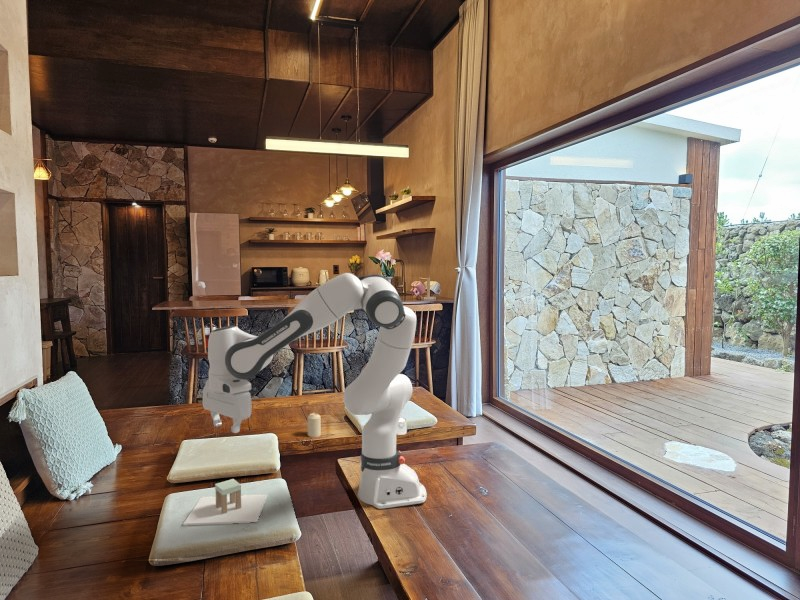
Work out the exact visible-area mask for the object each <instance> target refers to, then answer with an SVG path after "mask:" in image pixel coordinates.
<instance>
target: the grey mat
mask: <svg viewBox="0 0 800 600" xmlns="http://www.w3.org/2000/svg"><path fill="white" fill-rule="evenodd" d="M268 495H269V494H268V493H267V494H265V493H264V494H263V493H262V494H243V495H242V494H241V508H240V509H236V503H233V504H231V503H230V495H227V513H225V514H223V513H222V512H221V508H218V509H217V508H216V495H214V496H211V495H210V496H201V497H200V498H199V500H198V501H197V503H196V504H195V505H194V506H193V509H192V510H191V511H190V513H189V515H188V516H187V518H186V519H185V520H184V522H182V523H183V524H182V525H183V527H186V526H187V527H190V526H212V525H213V526H215V525H233V523H239V524H251V523H250V522H257V521H258V522H259V520H258V519H260V517H259V516H261V515H262V511H263V509H264V506H265V503H266V501H267V498H268ZM258 522H257V523H258Z"/></svg>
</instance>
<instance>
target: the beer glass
mask: <svg viewBox="0 0 800 600" xmlns="http://www.w3.org/2000/svg"><path fill="white" fill-rule="evenodd" d="M407 425H408V424H407V418H403V417H400V419H399V422H398V426H397V435H398V436H404V435H406V434H407V431H408V428H407Z"/></svg>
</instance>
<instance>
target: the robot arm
mask: <svg viewBox="0 0 800 600" xmlns="http://www.w3.org/2000/svg"><path fill="white" fill-rule="evenodd" d="M356 310H363V311H364V312H365V313H366V315H367V318H368V320H370V321H371V322H372V323H373V324H375V325H376V326H378V327H379V330H378V333H377V336H376V340H375V343H374V347H373V350H372V354H371V356H370V358H369V360H368V362H367V363H366V365H365V366H364V368H363V369H362V371H361V372H360V373H359V375H358V376H357V378H355V379H354V380H353V381H352V382H351V383H350V384H348V385H347V386H346V387H345V389H344V392H343V403H344V406H345V408H346V410H347V411H348V412H349V413H350V414H351V415H354V416H368V415H370V417H369V418H368V420H367V422H366V423H365V424H364V425H363V427H362V431H361V452H360V457H359V458H360V461H359V462H360V463H359V464H360V465H359V466H360V471H361V474H360V481H359V486H358V491H357V498H358V499H359V500H360V501H362V502H363V503H365V504H367V505H371V506H373V507H374V508H376V509H379V510H380V509H381V510H382V509H388V508H396V507H405V506H410V505H417V504H423V503H424V502H425V501H427V497H428V496H427V495H428V493H427V489H426V487H425V486H424V485H423V483H421V482H420V480H419V476H418V474H417V472H416V471H415V470H414V469H413V468H412V467H410V466H408V465H407V464H405V462H406V459H405V457H404V456H403V454H402V452H401V451H400V450H397V426H398V422H399V419H400V418H401V415H402V412H403V410H404V409H405V406H406V405H407V403H408V401H409V400H410V399H411V397H412V395H413V391H414V390H413V388H414V387H413V385H412V381H411V380H410V378H409V377H408V376H407V375H405V374H403V373H402V372H403V370H405V368H406V366H407V363H408V360H409V357H410V353H411V350H412V346H413V344H414V339H415V335H416V331H417V330H416V329H417V320H418V319H417V314H416V313H415V312H414V311H413V310H412V309H411V308H409V307H408V306H405V305H404V303H403V300H402V298H401V297H400V295H399V293H398V290H397V289H396V288H395V286H394V285H392V284H391V282H390V281H389V280H388V278H386V277H385V276H384V275H381V274H377V273H376V274H369V275H365V276H360V277H357V276H356V275H355V274H353V273H351V272H344V273H341V274H339V275H337V276H334V277H333V278H331V279H329V280H327V281H325V282H324V283H322V284H320V285H319V286H318V287H316V288H315V289H314V290H312V291H311V292H310V293H308V294H307V295H306V296H305V297H304V298H302V300H301V301H299V303H298V304H297V305H296V306H295V307H294V308H293V309H292V310H291V311H290V312H289V313H288V314H287V315H286V316H285V317H284V318H283V319H282V320H281V321H279V322H278V323H277V324H274V326H272V327H270V328H269V329H268V330H266V331H265V332H263V333H261V334H260V335H258V336H257V335H253V334H250V333H248V332H246V331H243V330H242V329H240V328H239V327H238V326H236V325H227V326H226V325H225V326H222V327H218V328H215V329H213V330H212V331H211V332H210V333H209V336H208V343H207V345H208V346H207V360H208V363H209V368H208V378H207V380H206V381H205V385H204V386H203V390H202V406H203V409H204V410H206V411H210V416H211V418H212V421H213V427H214V426H215V427H216V428H217V427H220V426H222V424H223V423H222V419H221V417H220V415H222V416H225V417H228V418H231V419H232V422H233V423H232V425H231V426H230V429H231V430H230V431H231V433H233V434H237V433H240V429H241V427H240V426H241V425H242V422H243V420H247V419H249V418H250V416H251V415H252V396H251V395H252V394H251V392H250V391H251V390H252V383H251V382H250V381H249V380H250V379H253V378H254V377H256V376H257V375H258V374H259V373H260V372H261V371H262V370H264V368H266V367H267V366H268V365H269V364H270V363H271V362H272V361H273V359H274V356H275V354H277V353H278V352H279V351H280V350H282V349H283V348H285V347H287V346H288V345H289V344H291V343H292V342H293V341H296V340H297V339H299V338H302V337H304V336H307V335H309V334H313V333H314V332H317V331H319V330H322V329H324V328H326V327H329V326H330V325H332V324H334V323H336V322H337V321H339V320H340V319H342V318H343V317H344V316H346V315H347V314H348V313H351V312H352V311H356Z"/></svg>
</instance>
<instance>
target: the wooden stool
mask: <svg viewBox="0 0 800 600" xmlns="http://www.w3.org/2000/svg"><path fill="white" fill-rule="evenodd" d="M214 487H215V488H214V489H215V496H216V508H217V509H218V508H221V512H222V513H223V514H225V513H227V496H228V494H229V496H230V503H231V504H233V503H236V509H240V508H241V495H242V484H241V483H239V482H238V481H237V480H236V479H234V478H231V479H229V480H225V481H224V480H223V481H221V482H217V483H215V484H214Z"/></svg>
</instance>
